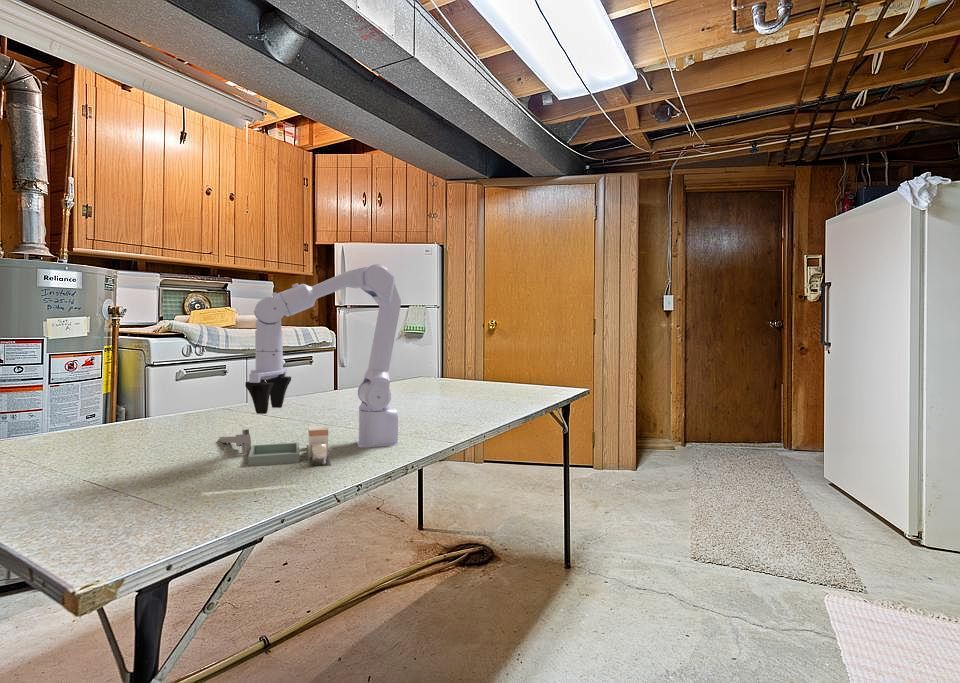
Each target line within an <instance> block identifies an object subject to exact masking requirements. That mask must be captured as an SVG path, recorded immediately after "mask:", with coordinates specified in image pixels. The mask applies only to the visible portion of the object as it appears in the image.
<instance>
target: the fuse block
mask: <svg viewBox="0 0 960 683" xmlns="http://www.w3.org/2000/svg"><path fill="white" fill-rule="evenodd" d="M308 448H309V444H307V445H306V449H307V450H306V452H307V460H308V467H309V468H317V467H319V468H320V467H331V466H332V464H331V459H330V455H329V454H328V456H327V443H314V444H312V449H311V457H309V453H308Z"/></svg>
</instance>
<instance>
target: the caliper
mask: <svg viewBox="0 0 960 683" xmlns="http://www.w3.org/2000/svg"><path fill="white" fill-rule="evenodd" d="M241 431H242V433H239V434H235V435H229V436H228V435H227V436H226V435H224V436H219V438H218V439H217V441H219V442H220V443H221V442H222V444H227V443H228V444H229V443H230V444H232V443H233V444H235V447H241V452H242V454H243V455H245V456H249V453H250V450H251V447H252V440H251V439H252V438H251V434H250V429H249V428H247V429H242V430H241Z"/></svg>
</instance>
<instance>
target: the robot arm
mask: <svg viewBox="0 0 960 683" xmlns="http://www.w3.org/2000/svg"><path fill="white" fill-rule="evenodd" d="M346 288H349V289H361V290H362V291H364V292H365V293H366V294H368V295H369V296H371V297H372V299H373V300H374V301H375V303H376V304H377V305H378V307H379V308H378V313H377V318H376V324H375V329H374V333H373V340H372V344H371V345H372V346H371V351H370V356H369V362H368V367H367V370H366V371H365V372H364V377H363V380H362V382H361V383H360V385H359V386H358V388H357V397H358V398H359V400H360V401H361V403H360V405H359V406H358V438H356V439H355V442H356V444H357V446H358V448H374V447H389V446H398V445H399V442H398V441H399V436H398V435H399V415H398V414H399V413H398V411H397V408H395V407H391V408H389V404H390V402H391V401H392V400H391V399H392V394H391V390H390V384H391V383H390V382H391V378H390V372H389V371H390V366H391V365H390V364H391V360H392V354H393V349H394V344H395V338H396V333H397V327H398V321H399V316H400V310H401V304H402V301H401V297H400V294H399V291H398V288H397V286H396V283H395V276H394V275H393V274H392V273H391V271H390V270H389V269H388V268H387V267H386V266H385V265H383V264H380V263H373V264H372V265H369V266H363V267H360V268H359V267H358V268H355V269H350V270H348V271H347V270H346V271H345V272H342V273H341V274H338V275H336V276H333V277H331V278H328V279H326V280H324V281H322V282H319V283H316V284H315V285H312V286H310V285H307V284H306V283H301V284H299V283H298V282H297V283H293V284H291V287H290V288H288V289H286V290H283V291H280V292H278V293H277V291H276V292H275V291H274V292H272V293H271V296H265V297H264V298H263V299H260V300H259V301H258V302H257V303H256V304H255V307H254V311H253V312H254V313H253V314H254V316H255V318H256V321H255V328H256V329H255V332H254V333H255V336H254V337H255V340H254V341H255V342H254V343H255V345H254V346H255V348H254V350H255V369H251V370H250V373H249V374H248V376H249V377H248V378H249V379H248V380H249V381H245V384H244V386H245V388H246V390H247V391H248V392H249V394H250V396H251V397H250V398H251V399H252V402H253V406H254V409H255V410H254V411H255V413H256V414H257V415H266V414H268V410H269V404H271V408H273V409H274V408H275V409H282V407H283V404H284V400H285V396H286V392H287V389H288V386H289V385H290V383H291V381H292V376H288V366H287V367H286V366H285V367H284V362H283V360H284V359H283V358H284V357H283V356H284V354H283V350H284V349H283V344H284V343H283V341H284V339H283V338H284V337H283V330H282V319H283V317H284V316H286V317H287V318H288V317H290V316H293V315H295V314H298V313H301V312H303V311H305V310H308V309H311V308H313V307H314V306H315V304H316V301H317V299H320V298H321V297H325V296H327V295H330V294H333V293H335V292H338V291H341V290H344V289H346ZM269 401H270V403H269Z"/></svg>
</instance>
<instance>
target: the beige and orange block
mask: <svg viewBox="0 0 960 683" xmlns="http://www.w3.org/2000/svg"><path fill="white" fill-rule="evenodd" d="M314 443H327V456H328V455H329V427H328V425H319V426H318V425H316V426H315V425H313V426H308V445H309V448H308V453H309V457H311V449H312V444H314ZM308 453H307V454H308Z"/></svg>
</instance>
